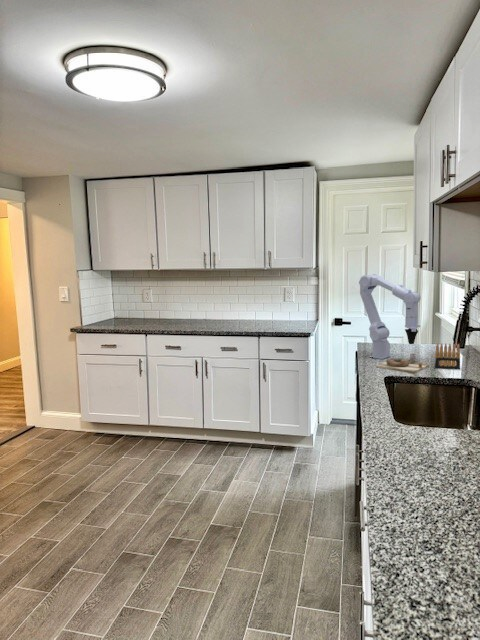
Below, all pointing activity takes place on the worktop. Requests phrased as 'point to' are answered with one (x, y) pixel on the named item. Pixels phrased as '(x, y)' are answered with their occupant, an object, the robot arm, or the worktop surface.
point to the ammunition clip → (445, 361)
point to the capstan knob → (401, 361)
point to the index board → (404, 367)
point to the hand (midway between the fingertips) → (411, 343)
